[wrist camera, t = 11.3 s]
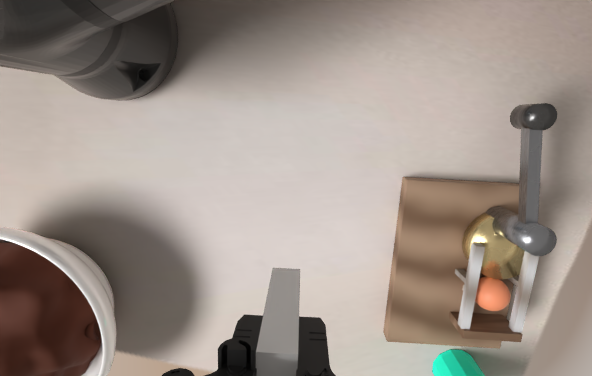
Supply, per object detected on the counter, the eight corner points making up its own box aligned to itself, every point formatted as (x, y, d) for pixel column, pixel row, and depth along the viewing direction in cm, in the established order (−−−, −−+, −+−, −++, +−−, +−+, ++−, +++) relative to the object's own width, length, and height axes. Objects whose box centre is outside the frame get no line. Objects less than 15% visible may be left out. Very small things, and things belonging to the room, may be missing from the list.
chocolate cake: (134, 202, 43) (44, 247, 28) (158, 367, 48) (94, 479, 33) (-51, 208, 44) (-233, 255, 29) (-7, 370, 49) (-142, 480, 34)
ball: (468, 269, 41) (485, 285, 37) (500, 271, 41) (521, 287, 37) (463, 298, 42) (479, 317, 38) (494, 300, 42) (514, 319, 38)
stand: (402, 176, 41) (419, 186, 35) (523, 183, 41) (559, 194, 35) (383, 331, 46) (395, 363, 40) (491, 338, 46) (519, 371, 40)
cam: (579, 126, 37) (648, 128, 30) (513, 278, 41) (560, 314, 34) (491, 103, 37) (540, 100, 29) (434, 258, 41) (464, 290, 33)
